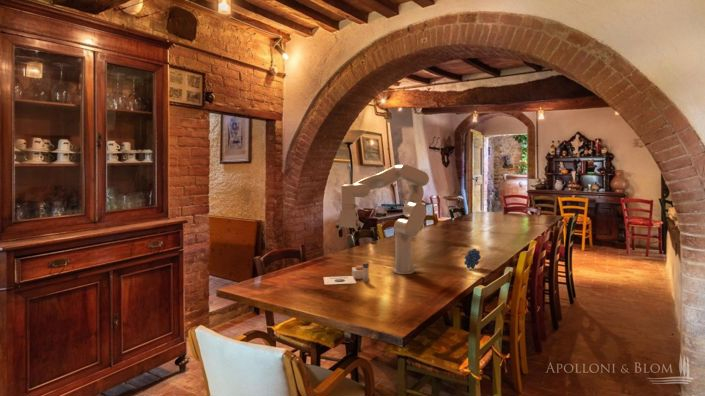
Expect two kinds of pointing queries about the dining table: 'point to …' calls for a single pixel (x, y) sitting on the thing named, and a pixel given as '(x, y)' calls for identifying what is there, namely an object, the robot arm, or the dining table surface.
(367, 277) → the marker
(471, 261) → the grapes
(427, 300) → the dining table surface
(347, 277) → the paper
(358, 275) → the button housing
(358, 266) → the button
